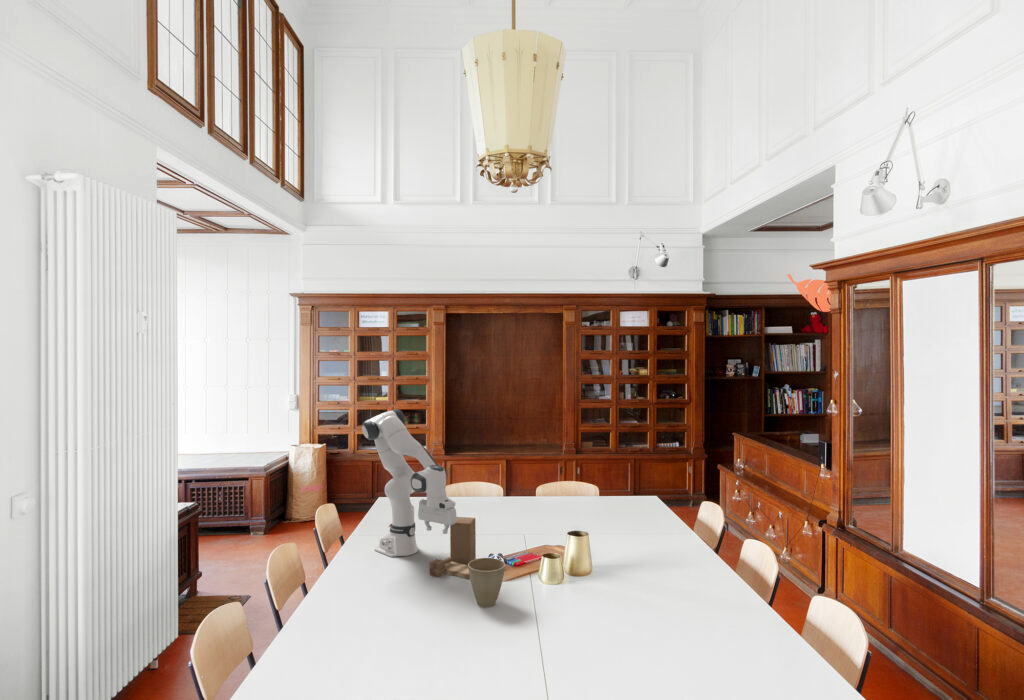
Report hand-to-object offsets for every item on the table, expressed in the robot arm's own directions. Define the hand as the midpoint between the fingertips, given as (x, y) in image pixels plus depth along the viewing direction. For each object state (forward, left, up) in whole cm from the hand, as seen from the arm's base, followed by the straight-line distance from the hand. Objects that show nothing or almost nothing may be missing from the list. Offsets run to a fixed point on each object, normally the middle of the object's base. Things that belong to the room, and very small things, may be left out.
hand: (437, 531), depth 275 cm
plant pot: (+37, -14, -20) cm, 44 cm away
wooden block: (0, +19, -20) cm, 28 cm away
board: (+9, +7, -19) cm, 23 cm away
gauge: (0, +4, -19) cm, 20 cm away
